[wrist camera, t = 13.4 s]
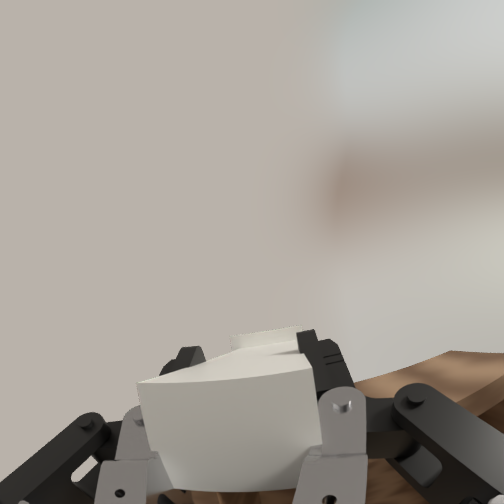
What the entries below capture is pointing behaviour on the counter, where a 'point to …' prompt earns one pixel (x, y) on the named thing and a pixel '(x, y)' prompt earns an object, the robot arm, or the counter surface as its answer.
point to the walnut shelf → (385, 386)
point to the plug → (236, 416)
